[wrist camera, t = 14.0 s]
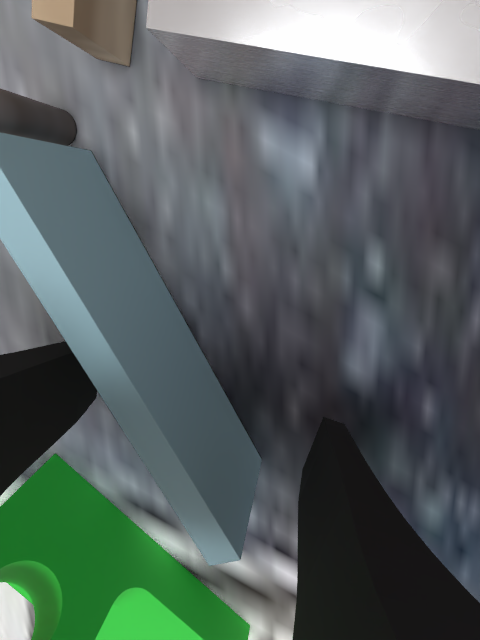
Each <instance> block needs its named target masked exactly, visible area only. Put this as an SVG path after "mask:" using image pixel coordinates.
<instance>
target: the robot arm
mask: <svg viewBox="0 0 480 640" xmlns="http://www.w3.org/2000/svg"><path fill="white" fill-rule="evenodd" d="M96 394H97V389H96V388H95V386H94V385H93V383H92V381H91V380H90V378H89V377H88V375H87V374H86V372H85V370H84V369H83V367H82V366H81V364H80V363H79V361H78V359H77V358H76V356H75V355H74V353H73V352H72V350H71V349H70V347H69V345H68V344H67V342H61V343H56V344H51V345H47V346H42V347H37V348H33V349H28V350H24V351H19V352H14V353H9V354H3V355H0V496H1V495H2V494H3V492H4V491H5V490H6V489H7V488H8V487H9V486H10V485H11V484H12V483H13V482H14V481H15V480H16V479H17V478H18V477H19V476H20V475H21V474H22V473H23V472H24V471H25V470H26V469H27V468H28V467H30V466H31V465H32V464H33V463H34V462H35V461H36V460H37V459H38V458H39V457H40V456H41V455H42V454H43V453H44V452H46V451H47V450H48V449H49V448H50V447H51V446H52V445H53V444H54V443H55V442H56V441H57V440H58V439H59V438H60V437H62V436H63V435H64V434H65V433H66V432H67V431H68V430H69V429H70V428H71V427H72V426H73V425H74V424H75V423H76V422H77V421H78V420H79V418H80V417H81V416H82V415H83V414H84V413H85V411H86V410H87V409H88V407H89V406H90V405H91V404H92V402H93V401H94V400H95V399H96ZM293 640H480V603H479V602H478V601H477V600H476V599H475V598H474V597H473V596H472V595H471V594H470V593H469V592H468V591H467V590H466V589H465V588H464V587H463V586H462V585H461V583H460V582H459V581H458V580H457V579H456V578H455V577H454V576H453V575H452V574H451V573H450V572H449V570H448V569H447V568H446V567H445V566H444V565H443V564H442V563H441V562H440V561H439V560H438V558H437V557H436V556H435V555H434V554H433V553H432V552H431V550H430V549H429V548H428V547H427V546H426V544H425V543H424V542H423V541H422V540H421V538H420V537H419V536H418V535H417V533H416V532H415V531H414V530H413V528H412V527H411V526H410V525H409V524H408V522H407V521H406V520H405V518H404V517H403V516H402V514H401V513H400V512H399V510H398V509H397V508H396V506H395V505H394V503H393V502H392V500H391V499H390V498H389V496H388V495H387V493H386V492H385V490H384V489H383V487H382V486H381V484H380V483H379V481H378V480H377V478H376V477H375V475H374V474H373V472H372V470H371V469H370V467H369V466H368V464H367V462H366V461H365V459H364V457H363V456H362V454H361V452H360V450H359V449H358V447H357V445H356V444H355V442H354V440H353V438H352V437H351V435H350V433H349V431H348V430H347V428H346V426H345V425H344V423H340V422H337V421H334V420H331V419H328V418H325V417H323V420H322V422H321V425H320V427H319V430H318V432H317V435H316V437H315V440H314V442H313V445H312V447H311V450H310V452H309V455H308V457H307V460H306V462H305V465H304V467H303V471H302V478H301V485H300V493H299V501H298V583H297V603H296V613H295V623H294V633H293Z"/></svg>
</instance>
